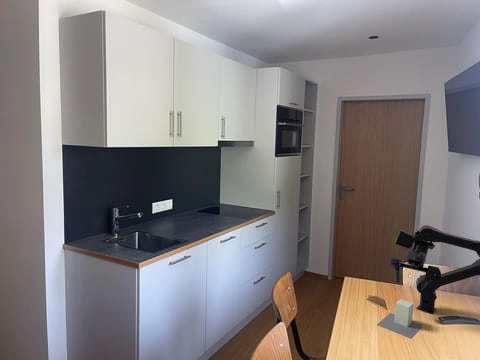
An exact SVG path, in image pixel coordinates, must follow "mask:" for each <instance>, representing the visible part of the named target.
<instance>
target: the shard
mask: <svg viewBox="0 0 480 360" xmlns="http://www.w3.org/2000/svg"><path fill="white" fill-rule="evenodd" d="M366 296H367V298H366V299H365V301H366V302H368V303H371V304H373V305H374V306H378V308H382V309H385V310H387V306H386V303H385V301H384V298H383V297H380V296H378V295H371V294H367V295H366Z"/></svg>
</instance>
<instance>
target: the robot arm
mask: <svg viewBox="0 0 480 360" xmlns="http://www.w3.org/2000/svg"><path fill="white" fill-rule="evenodd" d="M393 243H394V245H396V246H399V247H401V248H404V249H406V251H405V252H406V254H405V260H406V262H403V260H402V259H401V258H398V257H393V256H392V257H391V258H390V260H389V264H390V266H391V268H392V269H394V270H395V273H396V283H397V285H398V284H400V281H401V278H402V275H403V271H404V270H403V268H405V269H410V270H413V271H418V272H423V273H425V274H423V275H422V274H420V275H419V277H418V278H416V280H415V286H416V289H417V292H418V293H419V294H420V298H419V305H418V306H417V307H416V310H418V311H421V312H424V313H425V314H430V315H434V314H435V313H436V311H438V308H436V300H437V299H438V296H437V293H436V290H438V289H440V288H441V287H444V286H446V285H450V284H453V283H457V282H460V281H463V280H466V279H469V278H474V277H478V276H480V240H475V239H470V238H468V237H467V238H466V237H463V236H459V235H455V234H451V233H447V232H444V231H441V230H440V229H438V228H436V227H433V226H431V225H429V224H426V225H425V224H424V225H422V226H421V227H420V228H419V230H417V231H415V232H413V233H409V232H406V231H404V230H402V229H400V230H399V232H398V234H397V235H396V237H395V240H394V242H393ZM434 243H444V244H447V245H452V246H455V247H458V248H463V249H466V250H468V251H469V250H470V251H474V252H475V253H476V255H477V256H478V257H479V258H478V259H477V260H475V261H474V262H473V263H471V264H469V265H466V266H463V267H459V268H456V269H453V270H451V271H447V272H443V273H441V270H440V268H439V267H438V266H433V265H430V264H429V265H428V266H427V267H424V266H425V262H426V261H427V259H426V258H427V255H428V252H429V250H433V249H434V248H436V245H435V244H434ZM409 249H411V250H410V251H408V250H409Z"/></svg>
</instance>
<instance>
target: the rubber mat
mask: <svg viewBox="0 0 480 360" xmlns="http://www.w3.org/2000/svg"><path fill="white" fill-rule="evenodd" d="M394 318H395V313H392V312H390V313H388V314H387V315H386V316H385V317H384V318H382V319H381V320H380V321H379V322H378V323H376V326H377V327H381V328H383V329H386V330H388V331H391V332H393V333H396V334H398V335H401V336H403V337H406V338H408V339H411V340H412V339H413V338H414V337H415V336H416V335H417V333H418V332H419V331H420V330H421V329H422V328H423V327H424V326H425V325H424V324H422V323H420V322H417V321H414V320H412V323H411V324H410V325H409V326H408V327H406V326H403V325H401V324H398V323H395V322H394Z"/></svg>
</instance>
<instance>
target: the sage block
mask: <svg viewBox="0 0 480 360" xmlns="http://www.w3.org/2000/svg"><path fill="white" fill-rule="evenodd" d="M413 311H414V303H413V302H410V301H407V300H405V299H401V298H400V299H399V300H398V301H396V302H395V309H394V314H395V318H394V322H395V323H398V324H401V325H403V326H406V327H408V326H409V325H410V324H411V323H412V321H413V313H414V312H413Z"/></svg>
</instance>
